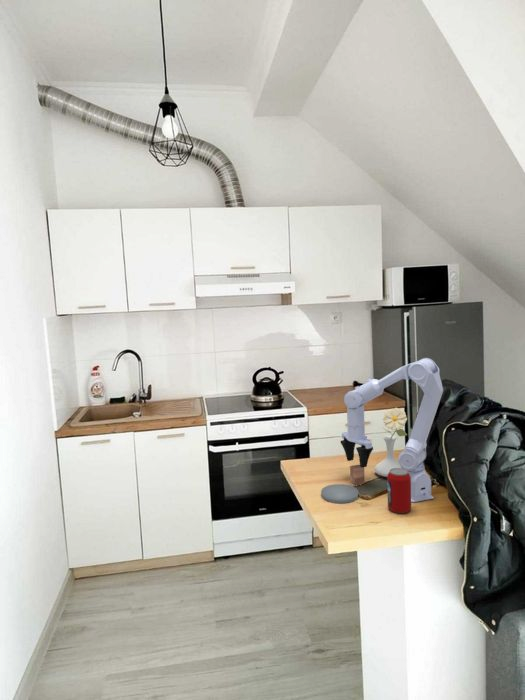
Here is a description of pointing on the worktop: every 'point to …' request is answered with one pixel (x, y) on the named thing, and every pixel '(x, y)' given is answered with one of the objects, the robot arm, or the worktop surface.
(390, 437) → the flower in vase
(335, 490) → the slate base plate
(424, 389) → the robot arm
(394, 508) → the beverage can
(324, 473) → the worktop surface
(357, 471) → the terracotta block
